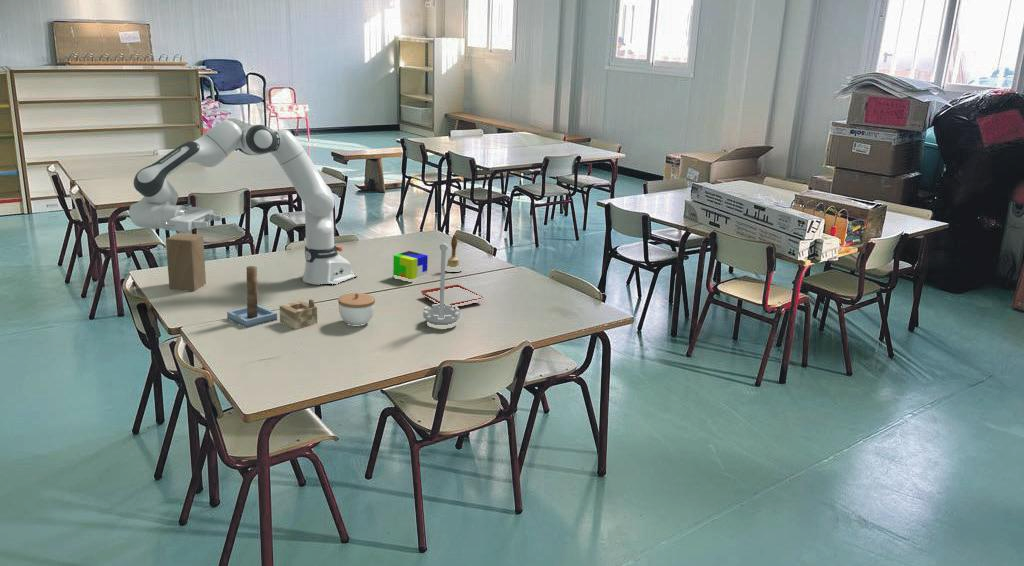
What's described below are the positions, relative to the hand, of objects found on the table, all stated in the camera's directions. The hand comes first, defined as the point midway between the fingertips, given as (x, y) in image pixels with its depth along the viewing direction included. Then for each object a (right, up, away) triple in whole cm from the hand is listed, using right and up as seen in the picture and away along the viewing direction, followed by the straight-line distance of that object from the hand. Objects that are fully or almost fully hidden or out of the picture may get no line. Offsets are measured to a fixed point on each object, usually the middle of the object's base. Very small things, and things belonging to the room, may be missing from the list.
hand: (214, 221), depth 274 cm
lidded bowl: (+49, -36, +4) cm, 61 cm away
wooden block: (-21, -23, +30) cm, 43 cm away
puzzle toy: (+61, -20, +57) cm, 86 cm away
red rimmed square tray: (+80, -29, +32) cm, 91 cm away
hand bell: (+78, -16, +71) cm, 106 cm away
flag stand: (+78, -36, +8) cm, 87 cm away
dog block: (+29, -35, 0) cm, 46 cm away
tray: (+13, -34, +1) cm, 36 cm away
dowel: (+13, -33, +1) cm, 36 cm away
